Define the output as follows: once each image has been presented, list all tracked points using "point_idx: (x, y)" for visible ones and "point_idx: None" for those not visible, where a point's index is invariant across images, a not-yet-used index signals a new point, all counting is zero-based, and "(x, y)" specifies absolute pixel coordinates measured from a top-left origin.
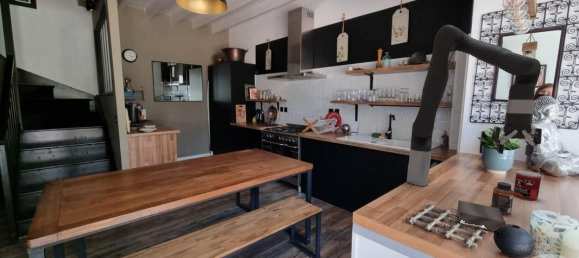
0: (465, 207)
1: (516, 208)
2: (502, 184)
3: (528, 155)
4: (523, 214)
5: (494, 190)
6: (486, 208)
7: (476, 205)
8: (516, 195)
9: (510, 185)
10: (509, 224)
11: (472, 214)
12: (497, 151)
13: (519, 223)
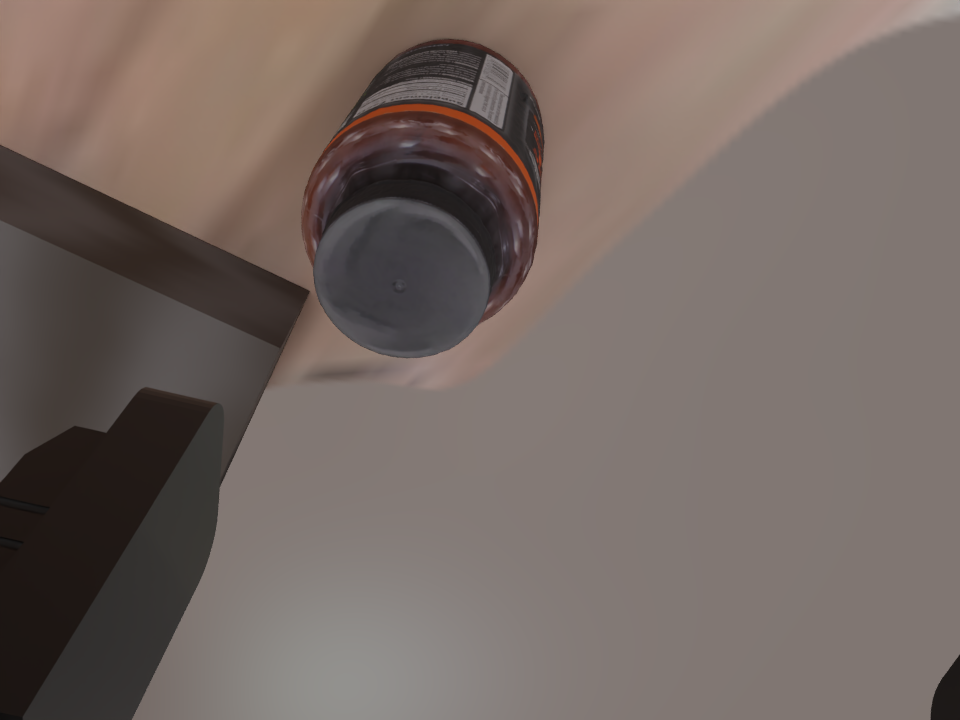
0: None
1: (745, 2)
2: (338, 325)
3: (946, 698)
4: (673, 169)
5: (303, 211)
6: (144, 364)
7: (72, 303)
8: None
9: (441, 351)
10: (351, 378)
11: None
12: (65, 464)
13: (457, 356)
